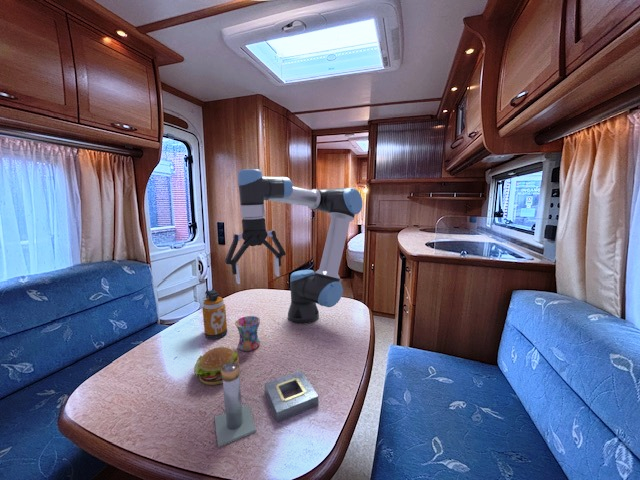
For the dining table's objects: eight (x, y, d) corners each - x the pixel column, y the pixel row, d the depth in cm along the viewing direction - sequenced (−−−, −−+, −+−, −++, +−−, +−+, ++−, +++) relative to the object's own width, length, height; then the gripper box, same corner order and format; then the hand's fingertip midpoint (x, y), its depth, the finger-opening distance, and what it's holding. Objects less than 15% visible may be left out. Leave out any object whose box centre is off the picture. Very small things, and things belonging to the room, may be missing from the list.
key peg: (241, 413, 69) (237, 360, 66) (244, 426, 65) (240, 369, 63) (225, 420, 67) (220, 364, 64) (227, 433, 63) (222, 375, 61)
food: (206, 360, 93) (204, 340, 92) (244, 360, 93) (243, 340, 91) (185, 388, 80) (182, 365, 78) (230, 389, 79) (228, 365, 78)
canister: (209, 342, 105) (204, 296, 101) (200, 332, 113) (196, 289, 110) (230, 334, 110) (227, 290, 107) (221, 325, 119) (217, 284, 115)
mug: (251, 355, 96) (249, 329, 94) (231, 350, 99) (229, 324, 98) (269, 339, 107) (268, 315, 105) (251, 334, 110) (250, 311, 108)
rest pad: (248, 406, 72) (248, 404, 72) (256, 431, 64) (256, 429, 64) (214, 418, 68) (214, 417, 68) (218, 447, 60) (217, 445, 60)
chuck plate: (301, 379, 83) (301, 370, 82) (318, 405, 72) (318, 395, 72) (265, 392, 77) (264, 382, 77) (277, 422, 67) (276, 412, 66)
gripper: (284, 214, 94) (288, 270, 98) (211, 220, 82) (218, 283, 86) (292, 215, 87) (295, 275, 91) (214, 222, 76) (222, 290, 80)
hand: (258, 279), depth 89 cm, fingers open, 13 cm apart
